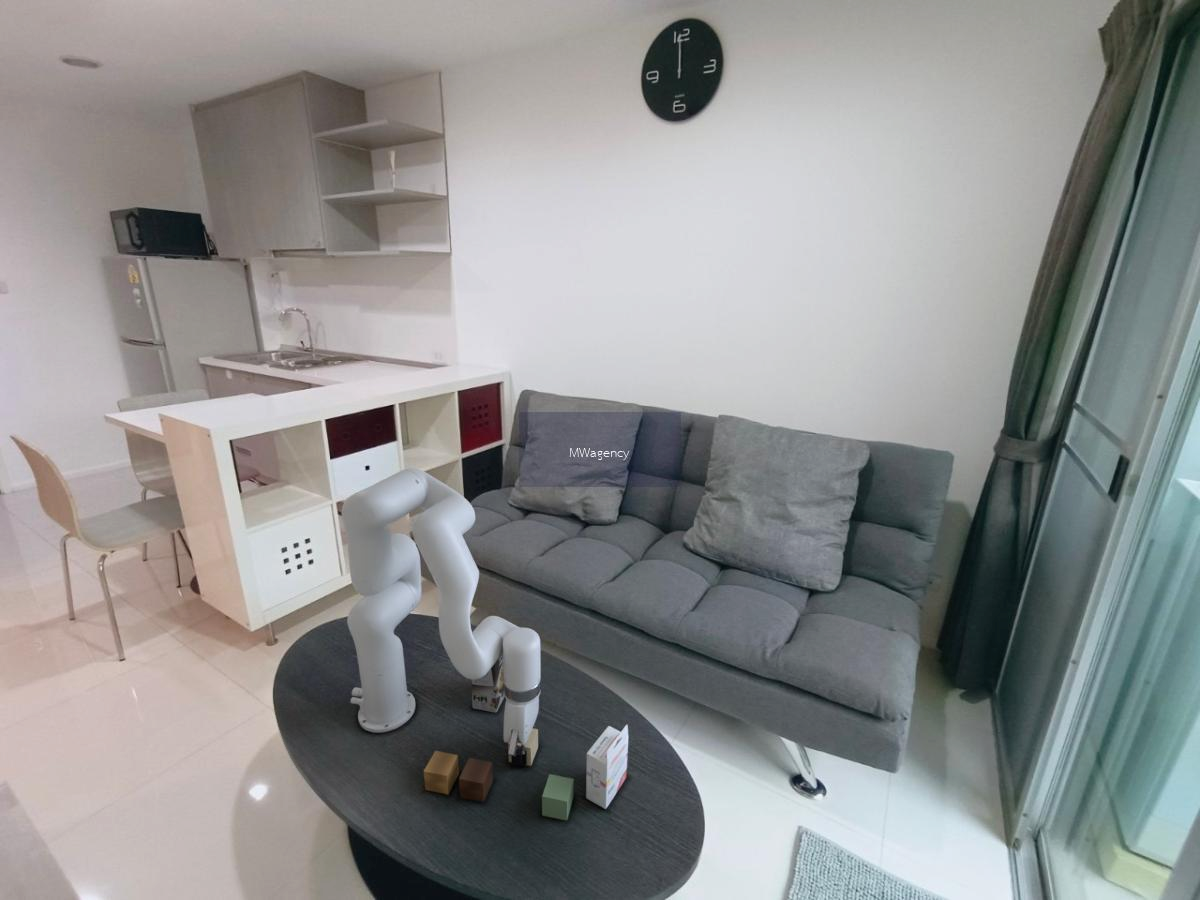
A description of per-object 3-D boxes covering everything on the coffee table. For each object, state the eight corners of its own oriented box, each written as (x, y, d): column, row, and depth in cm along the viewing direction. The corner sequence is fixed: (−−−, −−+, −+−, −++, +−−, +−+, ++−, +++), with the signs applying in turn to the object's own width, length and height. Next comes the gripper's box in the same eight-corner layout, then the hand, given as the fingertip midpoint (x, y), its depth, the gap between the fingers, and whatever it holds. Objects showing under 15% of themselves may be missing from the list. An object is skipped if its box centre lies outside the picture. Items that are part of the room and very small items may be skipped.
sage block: (541, 815, 106) (541, 796, 105) (549, 792, 111) (549, 773, 109) (567, 820, 105) (567, 801, 104) (573, 797, 110) (573, 778, 108)
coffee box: (497, 713, 130) (495, 657, 125) (471, 708, 131) (468, 652, 126) (510, 686, 138) (509, 632, 133) (486, 681, 139) (484, 628, 134)
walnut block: (460, 797, 109) (458, 778, 108) (470, 775, 114) (469, 757, 112) (483, 802, 108) (482, 783, 107) (493, 780, 113) (492, 762, 111)
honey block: (425, 789, 111) (423, 771, 109) (437, 768, 115) (435, 750, 114) (448, 794, 110) (446, 776, 108) (459, 773, 114) (458, 755, 113)
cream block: (508, 761, 117) (508, 743, 116) (516, 742, 122) (516, 725, 120) (531, 766, 117) (530, 748, 115) (538, 747, 121) (538, 729, 120)
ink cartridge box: (606, 767, 117) (609, 712, 112) (626, 778, 114) (630, 723, 110) (584, 798, 110) (586, 741, 105) (605, 811, 107) (608, 753, 103)
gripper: (518, 655, 122) (520, 720, 128) (489, 713, 106) (492, 784, 112) (551, 661, 121) (551, 726, 126) (526, 720, 105) (527, 791, 111)
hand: (523, 752), depth 119 cm, fingers closed on cream block, 5 cm apart
